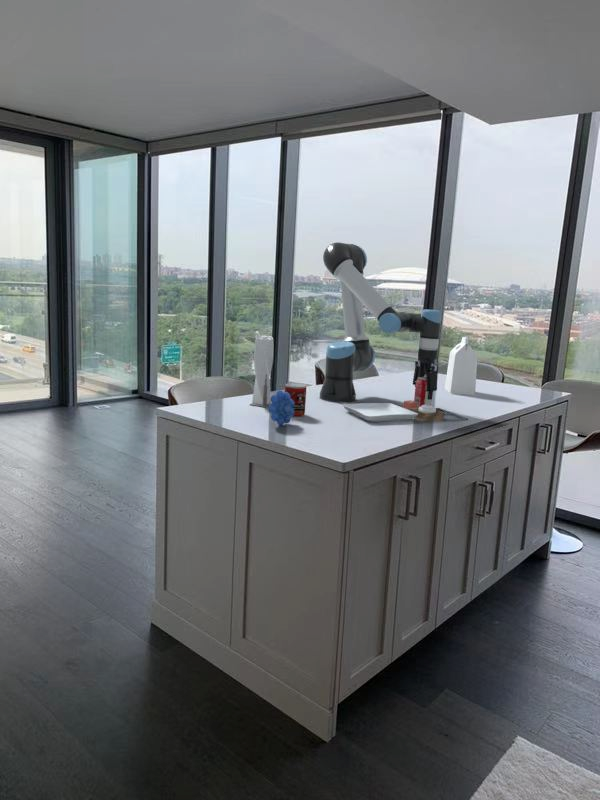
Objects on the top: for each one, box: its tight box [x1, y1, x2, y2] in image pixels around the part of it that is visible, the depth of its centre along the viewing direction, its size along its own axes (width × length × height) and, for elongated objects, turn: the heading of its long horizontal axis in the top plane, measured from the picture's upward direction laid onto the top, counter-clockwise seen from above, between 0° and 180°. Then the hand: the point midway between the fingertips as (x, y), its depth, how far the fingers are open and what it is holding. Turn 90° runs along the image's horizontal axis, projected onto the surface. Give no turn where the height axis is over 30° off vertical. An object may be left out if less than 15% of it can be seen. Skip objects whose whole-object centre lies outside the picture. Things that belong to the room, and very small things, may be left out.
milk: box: [444, 336, 478, 396], centre depth 289 cm, size 12×12×26 cm
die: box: [402, 400, 419, 410], centre depth 239 cm, size 4×4×4 cm
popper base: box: [410, 408, 445, 422], centre depth 229 cm, size 9×9×3 cm
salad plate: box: [342, 402, 418, 423], centre depth 228 cm, size 21×21×3 cm
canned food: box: [284, 382, 307, 418], centre depth 222 cm, size 8×8×11 cm
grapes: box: [268, 390, 295, 426], centre depth 204 cm, size 12×7×12 cm, turn 137°
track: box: [435, 407, 469, 422], centre depth 237 cm, size 10×19×1 cm, turn 21°
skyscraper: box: [249, 330, 275, 408], centre depth 235 cm, size 8×8×28 cm
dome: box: [418, 404, 437, 413], centre depth 229 cm, size 6×6×3 cm
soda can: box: [413, 376, 427, 407], centre depth 249 cm, size 7×7×12 cm
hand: (422, 405), depth 250 cm, fingers closed on soda can, 7 cm apart
